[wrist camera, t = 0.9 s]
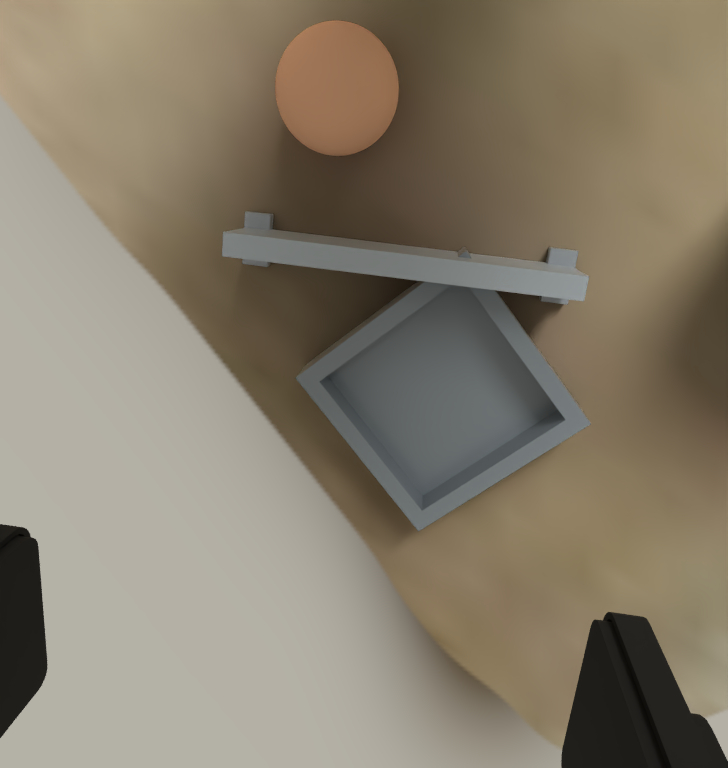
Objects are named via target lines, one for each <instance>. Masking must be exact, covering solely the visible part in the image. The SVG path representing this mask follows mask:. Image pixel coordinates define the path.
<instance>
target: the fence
mask: <svg viewBox="0 0 728 768" xmlns="http://www.w3.org/2000/svg"><path fill="white" fill-rule="evenodd" d="M273 217H274V214H268V213H260V212H251V211H246V212H245V223H244V228H241V229H236V230H231V231H226V232H223V247H222V256H224V257H232V258H240V259H243V261H242V264H248V265H256V266H264V267H268V266H270V263H271V262H272V263H280V264H288V265H296V266H305V267H313V268H321V269H329V270H337V271H345V272H353V273H361V274H369V275H377V276H385V277H393V278H401V279H409V280H417V281H425V282H433V283H441V284H449V285H457V286H465V287H473V288H481V289H489V290H497V291H505V292H513V293H521V294H529V295H537V296H540V297H539V299H540V301H543V302H551V303H559V304H567V305H568V300H577V301H584V299H585V294H586V289H587V285H588V280H589V276H587V275H586V274H584V273H582V272H581V271H579V270H577V269H576V268H575V266H576V261H577V256H578V251H577V250H571V249H562V248H554V247H549V250H548V255H547V260H546V262H539V261H530V260H522V259H514V258H506V257H497V256H489V255H481V254H472V253H470V256H471V258H464V257H458V254H457V252H456V251H448V250H439V249H431V248H423V247H415V246H406V245H398V244H390V243H381V242H373V241H365V240H357V239H348V238H340V237H332V236H323V235H315V234H307V233H299V232H290V231H282V230H274V229H273Z"/></svg>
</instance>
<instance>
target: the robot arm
mask: <svg viewBox="0 0 728 768" xmlns="http://www.w3.org/2000/svg"><path fill="white" fill-rule="evenodd" d="M46 672H47V653H46V641H45V628H44V615H43V602H42V589H41V576H40V563H39V550H38V543H37V541H36V539H34V538H31V537H30V533H29V532H28V530H27V529H25V528H23V527H16V526H9V525H2V524H0V738H1V737H2V735H3V734H4V733H5V731H6V730H7V729H8V727H9V726H10V725H11V724H12V723H13V721H14V720H15V718H17V716H18V715H19V714H20V713H21V711H22V710H23V709H24V708H25V706H26V705H27V704H28V702H29V701H30V700H31V699H32V697H33V696H34V695H35V694H36V692H37V691H38V690H39V688H40V687H41V685H42V683H43V681H44V679H45V676H46ZM562 768H728V761H727V759H726V757H725V755H724V753H723V751H722V749H721V747H720V745H719V743H718V741H717V738H716V736H715V734H714V733H713V730H712V728H711V727H710V725H709V724H708V722H707V720H706V719H705V718H704V717H702V716H701V715H698V714H692V713H690V711H689V708H688V706H687V704H686V702H685V700H684V698H683V695H682V693H681V691H680V689H679V687H678V684H677V682H676V680H675V678H674V676H673V674H672V671H671V669H670V667H669V665H668V663H667V661H666V658H665V656H664V654H663V652H662V650H661V647H660V645H659V643H658V641H657V639H656V637H655V634H654V632H653V630H652V628H651V626H650V624H649V622H648V620H647V619H646V618H644V617H640V616H633V615H626V614H619V613H613V612H608V613H606V615H605V617H604V620H603V621H602V620H594V621H593V622H592V625H591V628H590V632H589V637H588V641H587V645H586V650H585V654H584V658H583V663H582V667H581V671H580V675H579V680H578V684H577V688H576V693H575V697H574V701H573V706H572V710H571V714H570V719H569V723H568V727H567V732H566V736H565V740H564V745H563V749H562Z"/></svg>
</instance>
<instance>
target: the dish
mask: <svg viewBox="0 0 728 768" xmlns="http://www.w3.org/2000/svg"><path fill="white" fill-rule="evenodd" d="M457 254H458V257H464V258H471V256H470V253H469V252H468V250H467V249H466V248H465V246H464V247H463V248H461V249H460V250H459V251H457ZM296 379H297V381H298V382H299V383H300V384H301V386H302V387H303V388H304V389H305V391H306V392H307V393H308V394H309V396H310V397H311V398H312V399H313V401H314V402H315V403H316V404H317V406H318V407H319V408H320V409H321V411H322V412H323V413H324V414H325V416H326V417H327V418H328V419H329V421H330V422H331V423H332V424H333V426H334V427H335V428H336V429H337V431H338V432H339V433H340V434H341V435H342V437H343V438H344V439H345V440H346V442H347V443H348V444H349V445H350V447H351V448H352V449H353V450H354V452H355V453H356V454H357V455H358V457H359V458H360V459H361V460H362V462H363V463H364V464H365V465H366V467H367V468H368V469H369V470H370V472H371V473H372V474H373V475H374V477H375V478H376V479H377V480H378V482H379V483H380V484H381V485H382V487H383V488H384V489H385V490H386V492H387V493H388V494H389V495H390V497H391V498H392V499H393V500H394V501H395V503H396V504H397V505H398V506H399V508H400V509H401V510H402V511H403V513H404V514H405V515H406V516H407V518H408V519H409V520H410V521H411V523H412V524H413V525H414V526H415V528H416V529H417V530H418V531H420V530H422V529H423V528H425V527H426V526H428V525H430V524H431V523H433V522H434V521H436V520H438V519H439V518H441V517H442V516H444V515H446V514H447V513H449V512H450V511H452V510H454V509H455V508H457V507H458V506H460V505H462V504H463V503H465V502H466V501H468V500H470V499H471V498H473V497H475V496H476V495H478V494H479V493H481V492H483V491H484V490H486V489H487V488H489V487H491V486H492V485H494V484H495V483H497V482H499V481H500V480H502V479H503V478H505V477H507V476H508V475H510V474H511V473H513V472H515V471H516V470H518V469H519V468H521V467H523V466H524V465H526V464H528V463H529V462H531V461H532V460H534V459H536V458H537V457H539V456H540V455H542V454H544V453H545V452H547V451H548V450H550V449H552V448H553V447H555V446H556V445H558V444H560V443H561V442H563V441H564V440H566V439H568V438H569V437H571V436H572V435H574V434H576V433H577V432H579V431H581V430H582V429H584V428H585V427H587V426H589V425H590V424H591V423H590V422H589V420H588V418H587V417H586V415H585V414H584V412H583V410H582V409H581V407H580V406H579V404H578V403H577V402H576V400H575V399H574V398H573V396H572V395H571V393H570V392H569V391H568V389H567V388H566V386H565V385H564V384H563V382H562V381H561V379H560V378H559V377H558V375H557V374H556V373H555V371H554V370H553V368H552V367H551V366H550V364H549V363H548V361H547V360H546V359H545V357H544V356H543V355H542V353H541V352H540V350H539V349H538V348H537V346H536V345H535V343H534V342H533V341H532V339H531V338H530V336H529V335H528V334H527V332H526V331H525V330H524V328H523V327H522V325H521V324H520V323H519V321H518V320H517V318H516V317H515V316H514V314H513V313H512V311H511V310H510V309H509V307H508V306H507V305H506V303H505V302H504V300H503V299H502V298H501V296H500V295H499V293H498V292H497V291H496V290H489V289H481V288H473V287H465V286H457V285H449V284H441V283H433V282H425V281H417V282H416V283H414V284H413V285H412V286H410V287H409V288H408V289H406V290H405V291H404V292H402V293H401V294H400V295H398V296H397V297H396V298H394V299H393V300H392V301H390V302H389V303H388V304H386V305H385V306H384V307H382V308H381V309H380V310H378V311H377V312H376V313H374V314H373V315H372V316H370V317H369V318H367V319H366V320H365V321H363V322H362V323H361V324H359V325H358V326H357V327H355V328H354V329H353V330H351V331H350V332H349V333H347V334H346V335H345V336H343V337H342V338H341V339H339V340H338V341H337V342H335V343H334V344H333V345H331V346H330V347H329V348H327V349H326V350H325V351H323V352H322V353H321V354H319V355H318V356H317V357H315V358H314V359H313V360H311V361H310V362H309V363H307V364H306V365H305V366H304V367H303V369H302V370H301V371H300V373H299V374H298V375H297V376H296Z"/></svg>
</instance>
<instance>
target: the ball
mask: <svg viewBox="0 0 728 768" xmlns="http://www.w3.org/2000/svg"><path fill="white" fill-rule="evenodd" d="M275 93H276V101H277V105H278V109H279V112H280V114H281V117H282V119H283V121H284V123H285V125H286V126H287V128H288V129H289V131H290V132H291V133H292V134H293V135H294V137H295V138H296V139H298V140H299V141H300V142H301V143H302V144H304V145H305V146H307V147H308V148H310V149H312V150H314V151H316V152H319V153H322V154H325V155H331V156H344V155H350V154H354V153H357V152H360V151H362V150H364V149H366V148H368V147H370V146H371V145H372V144H373V143H375V142H376V141H377V140H378V139H379V138H380V137H381V136H382V135H383V134H384V132H385V131H386V130H387V128H388V127H389V125H390V123H391V121H392V119H393V117H394V114H395V111H396V108H397V103H398V96H399V83H398V75H397V70H396V67H395V64H394V61H393V59H392V57H391V55H390V53H389V52H388V50H387V48H386V47H385V46H384V45H383V43H382V42H381V41H380V40H379V39H378V38H377V37H376V36H375V35H374V34H373V33H371V32H370V31H369V30H367V29H366V28H364V27H362V26H360V25H357V24H354V23H351V22H346V21H336V20H332V21H324V22H321V23H317V24H315V25H313V26H310V27H308V28H307V29H305V30H304V31H302V32H301V33H300V34H298V35H297V36H296V37H295V38H294V39H293V40H292V41H291V43H290V44H289V45H288V47H287V48H286V50H285V51H284V53H283V55H282V57H281V60H280V62H279V65H278V69H277V73H276V80H275Z"/></svg>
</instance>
